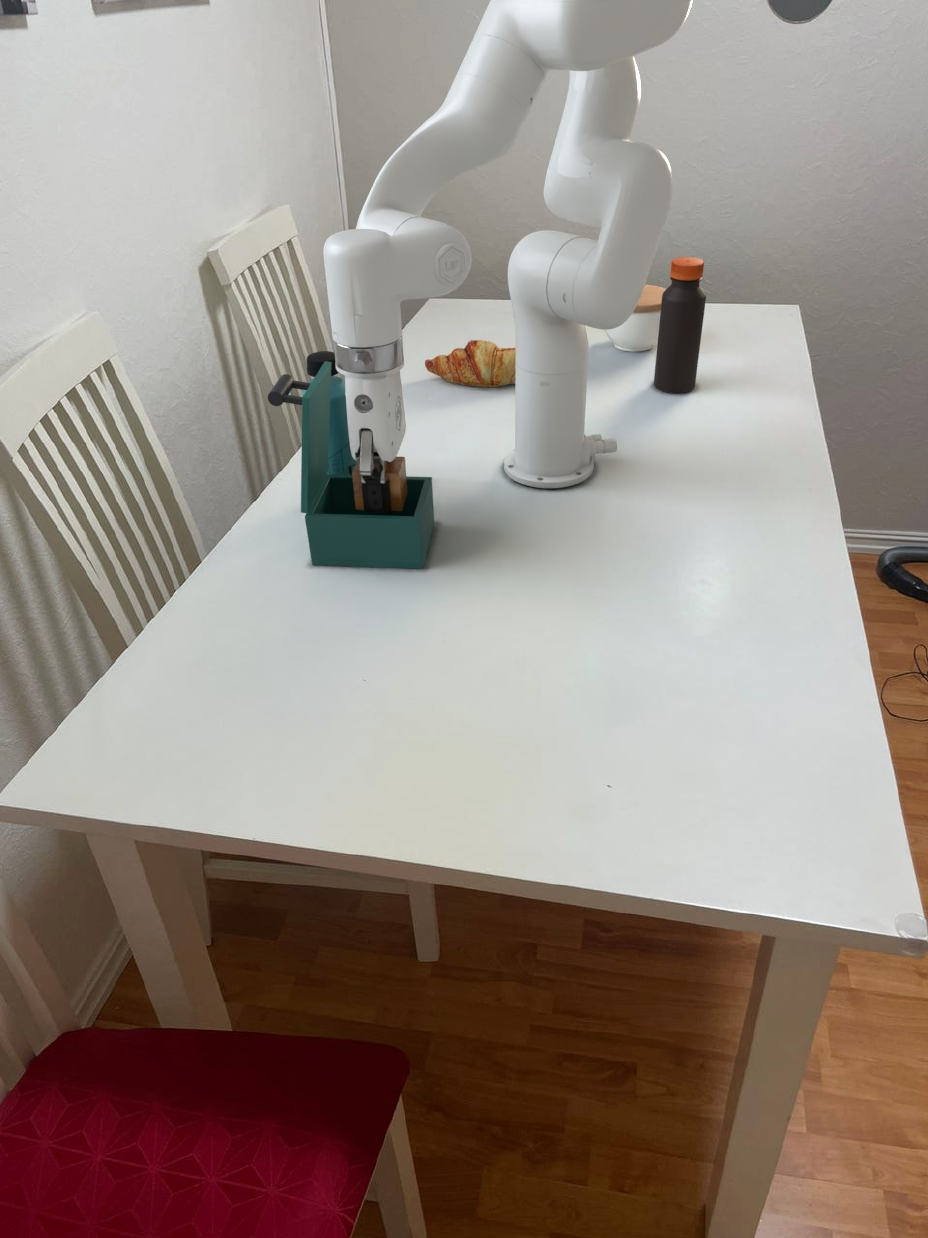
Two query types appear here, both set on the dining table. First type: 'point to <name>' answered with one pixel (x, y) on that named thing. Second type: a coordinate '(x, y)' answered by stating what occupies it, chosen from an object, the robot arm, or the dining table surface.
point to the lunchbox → (369, 527)
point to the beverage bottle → (334, 416)
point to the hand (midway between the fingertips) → (381, 498)
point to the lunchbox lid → (310, 427)
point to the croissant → (476, 365)
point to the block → (393, 474)
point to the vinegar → (680, 327)
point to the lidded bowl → (640, 323)
